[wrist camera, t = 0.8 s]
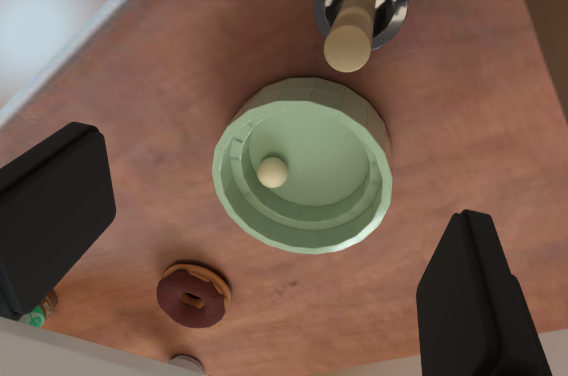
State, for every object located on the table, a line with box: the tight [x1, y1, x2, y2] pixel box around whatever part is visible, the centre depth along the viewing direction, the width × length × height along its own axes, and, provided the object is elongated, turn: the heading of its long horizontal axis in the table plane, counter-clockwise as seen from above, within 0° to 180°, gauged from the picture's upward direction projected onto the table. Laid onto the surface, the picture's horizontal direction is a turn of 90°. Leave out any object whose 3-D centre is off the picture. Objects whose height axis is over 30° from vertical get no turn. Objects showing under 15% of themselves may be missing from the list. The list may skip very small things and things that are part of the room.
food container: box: [18, 289, 57, 328], centre depth 59 cm, size 12×6×10 cm, turn 176°
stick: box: [324, 0, 376, 72], centre depth 23 cm, size 2×2×16 cm
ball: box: [257, 157, 288, 188], centre depth 39 cm, size 3×3×3 cm
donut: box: [157, 264, 231, 328], centre depth 52 cm, size 10×10×4 cm
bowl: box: [212, 78, 393, 254], centre depth 36 cm, size 16×16×6 cm
